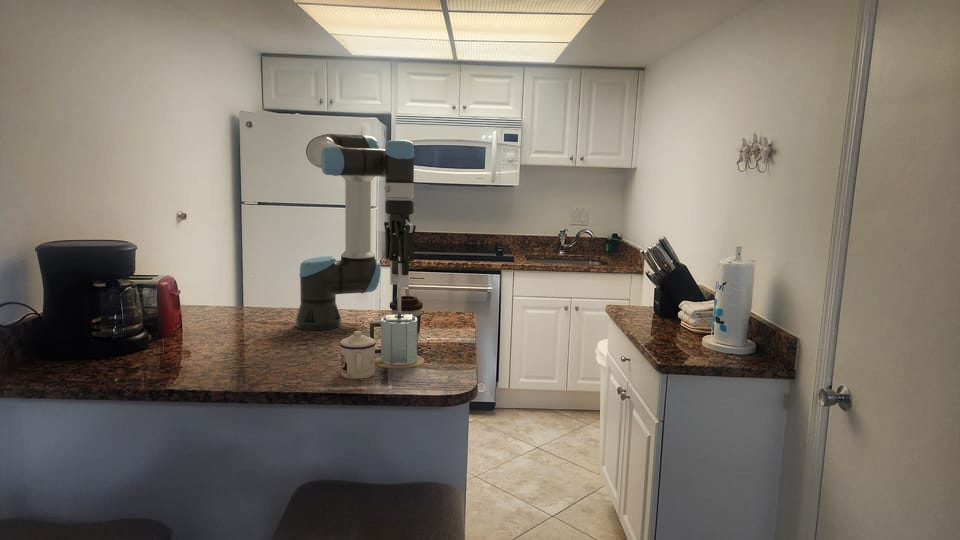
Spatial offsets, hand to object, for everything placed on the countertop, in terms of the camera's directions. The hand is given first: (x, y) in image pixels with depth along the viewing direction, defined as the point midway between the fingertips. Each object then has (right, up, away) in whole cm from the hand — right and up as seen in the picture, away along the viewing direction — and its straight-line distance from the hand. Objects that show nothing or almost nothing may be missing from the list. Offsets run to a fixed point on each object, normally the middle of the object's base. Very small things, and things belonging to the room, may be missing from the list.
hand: (399, 285), depth 165 cm
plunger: (0, -12, +2) cm, 12 cm away
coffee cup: (-1, -19, +20) cm, 28 cm away
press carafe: (-2, -21, +3) cm, 21 cm away
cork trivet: (0, -22, +3) cm, 22 cm away
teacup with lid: (-9, -24, -9) cm, 27 cm away
